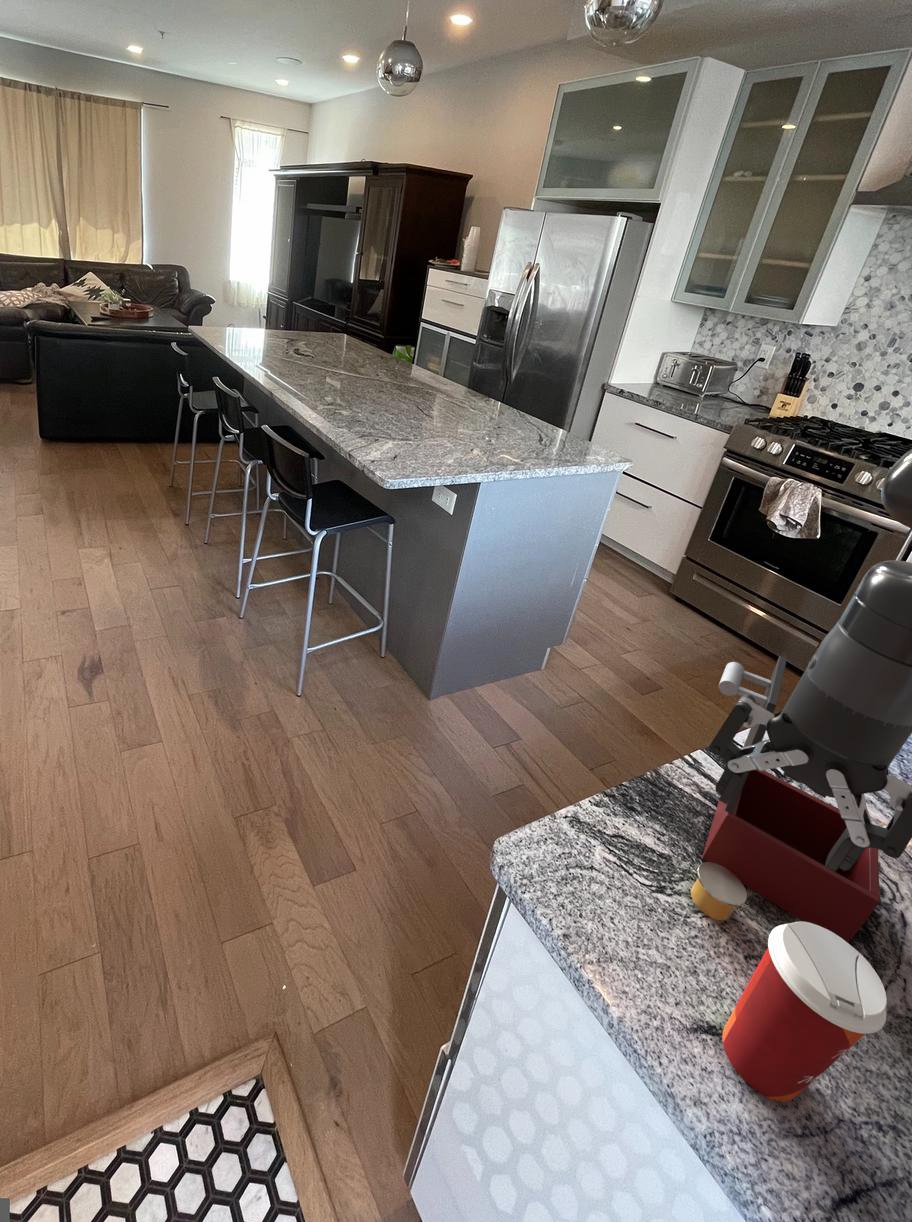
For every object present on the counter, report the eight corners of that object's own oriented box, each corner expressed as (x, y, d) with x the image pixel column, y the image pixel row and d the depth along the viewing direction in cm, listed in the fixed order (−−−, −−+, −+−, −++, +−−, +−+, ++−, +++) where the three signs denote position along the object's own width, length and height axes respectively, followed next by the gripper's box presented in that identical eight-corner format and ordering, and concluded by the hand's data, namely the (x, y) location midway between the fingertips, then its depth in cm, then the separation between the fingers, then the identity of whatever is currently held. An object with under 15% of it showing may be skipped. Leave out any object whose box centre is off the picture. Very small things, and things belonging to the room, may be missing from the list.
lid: (787, 657, 71) (736, 639, 74) (776, 705, 62) (719, 682, 65) (746, 757, 76) (700, 737, 79) (731, 814, 68) (680, 789, 71)
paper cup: (821, 1143, 49) (915, 1044, 43) (714, 1093, 51) (791, 992, 45) (792, 1035, 56) (869, 938, 50) (699, 995, 58) (763, 897, 52)
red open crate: (844, 876, 73) (877, 829, 69) (841, 951, 64) (880, 902, 61) (716, 804, 80) (741, 758, 77) (698, 863, 71) (726, 815, 68)
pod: (734, 906, 67) (750, 882, 65) (727, 938, 63) (743, 914, 62) (688, 877, 69) (702, 853, 68) (679, 907, 66) (694, 882, 64)
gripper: (981, 721, 48) (875, 863, 55) (774, 628, 57) (704, 760, 63) (981, 767, 43) (864, 917, 50) (753, 657, 52) (680, 798, 58)
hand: (775, 829), depth 57 cm, fingers open, 8 cm apart
